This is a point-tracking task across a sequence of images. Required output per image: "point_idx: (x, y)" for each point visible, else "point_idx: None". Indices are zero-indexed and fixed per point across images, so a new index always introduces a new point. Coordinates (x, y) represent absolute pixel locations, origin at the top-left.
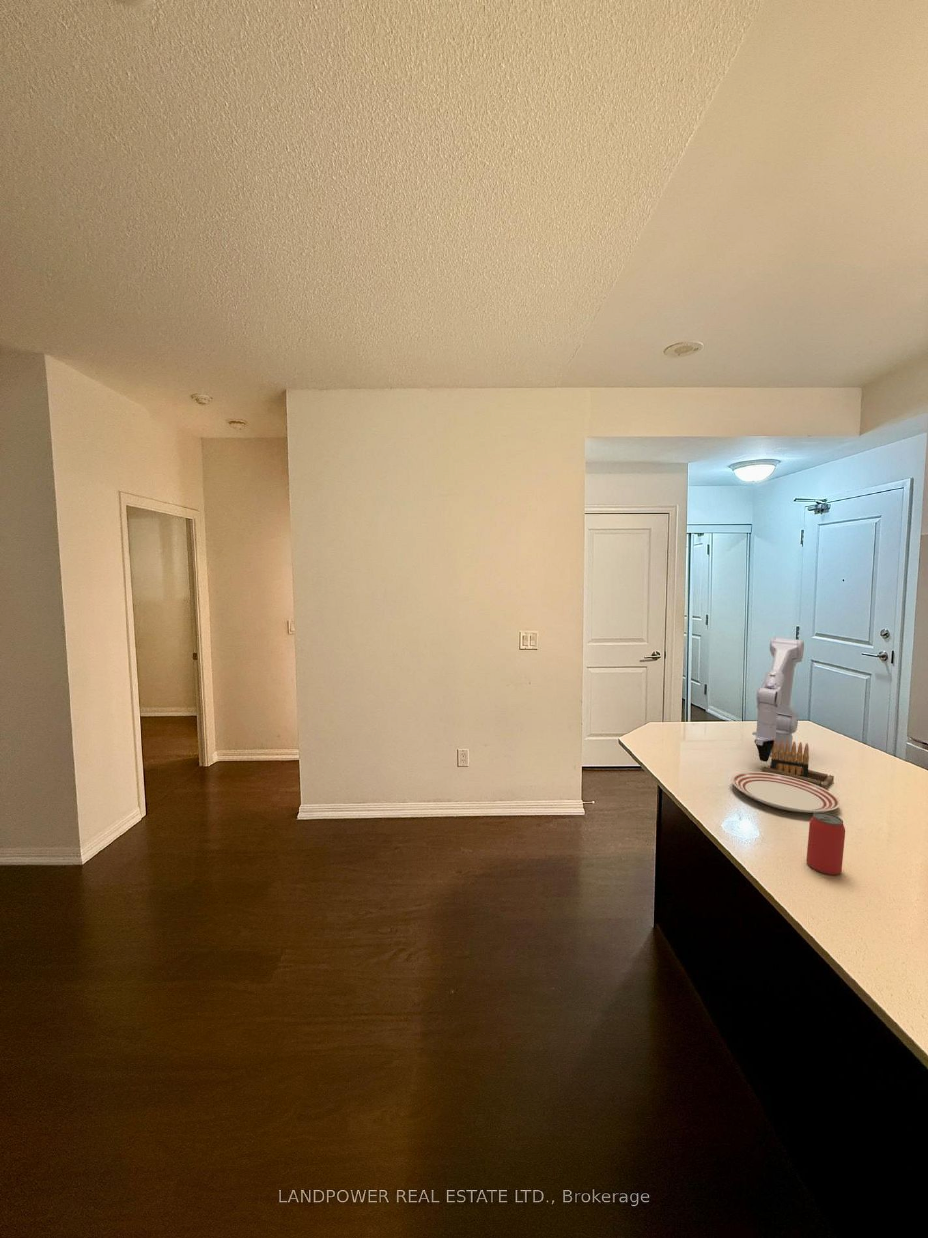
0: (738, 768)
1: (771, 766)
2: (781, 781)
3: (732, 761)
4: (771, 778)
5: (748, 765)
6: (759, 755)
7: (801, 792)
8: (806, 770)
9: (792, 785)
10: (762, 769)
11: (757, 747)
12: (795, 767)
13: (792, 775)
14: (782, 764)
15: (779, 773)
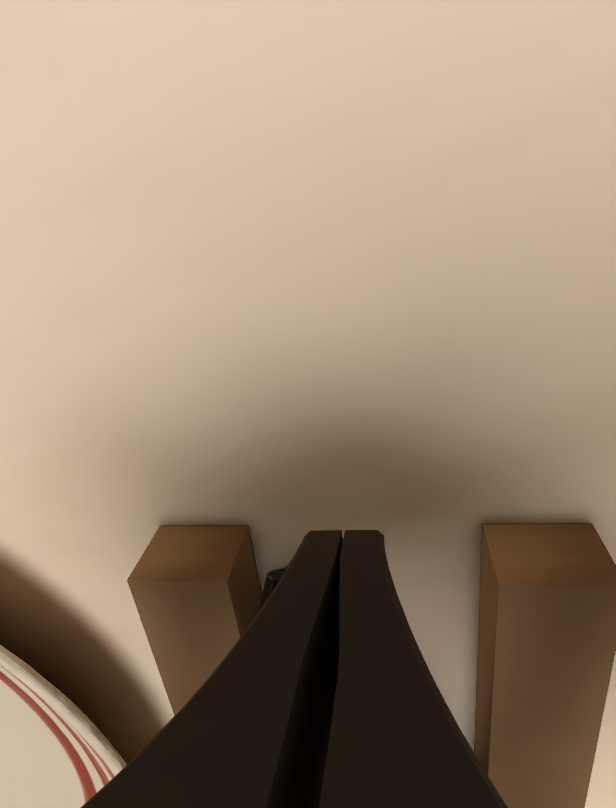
0: (53, 266)
1: None
2: (54, 719)
3: (265, 12)
4: (4, 669)
5: (319, 306)
6: (278, 593)
7: (41, 800)
8: None
9: (79, 768)
10: (134, 569)
11: (131, 768)
12: (533, 790)
13: None
14: None
15: (175, 710)
